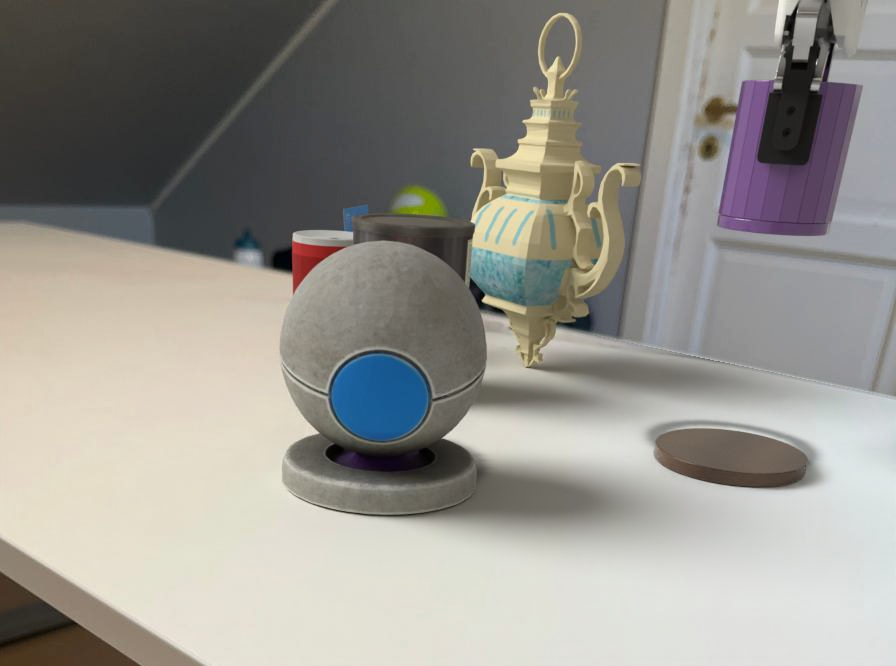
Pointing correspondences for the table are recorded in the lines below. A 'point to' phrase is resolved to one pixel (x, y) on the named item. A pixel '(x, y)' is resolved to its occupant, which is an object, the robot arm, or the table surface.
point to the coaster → (730, 457)
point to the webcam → (382, 380)
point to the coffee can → (421, 235)
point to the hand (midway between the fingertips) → (786, 161)
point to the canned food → (315, 250)
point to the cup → (787, 167)
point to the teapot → (546, 218)
